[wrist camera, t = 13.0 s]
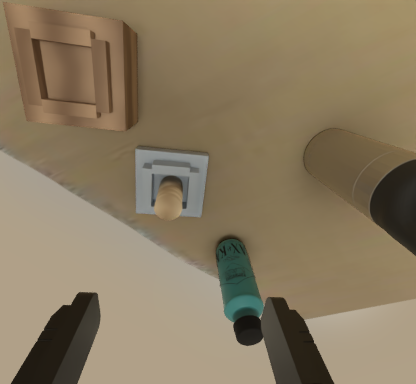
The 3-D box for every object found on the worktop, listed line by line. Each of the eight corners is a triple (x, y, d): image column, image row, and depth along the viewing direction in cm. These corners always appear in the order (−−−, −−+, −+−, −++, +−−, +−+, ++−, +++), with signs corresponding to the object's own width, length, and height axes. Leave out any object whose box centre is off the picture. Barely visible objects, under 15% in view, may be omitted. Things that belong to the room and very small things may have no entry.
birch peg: (183, 176, 40) (183, 197, 33) (182, 196, 42) (181, 221, 35) (160, 174, 40) (154, 195, 33) (159, 195, 41) (153, 219, 34)
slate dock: (207, 152, 41) (210, 160, 37) (200, 211, 46) (201, 224, 42) (137, 146, 39) (132, 153, 35) (138, 207, 44) (133, 220, 40)
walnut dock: (137, 34, 33) (118, 17, 24) (137, 121, 38) (122, 133, 29) (45, 20, 31) (-9, -3, 23) (58, 113, 36) (18, 122, 28)
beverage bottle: (249, 248, 51) (282, 340, 33) (223, 262, 52) (242, 358, 34) (234, 228, 48) (262, 316, 30) (207, 243, 49) (218, 336, 31)
